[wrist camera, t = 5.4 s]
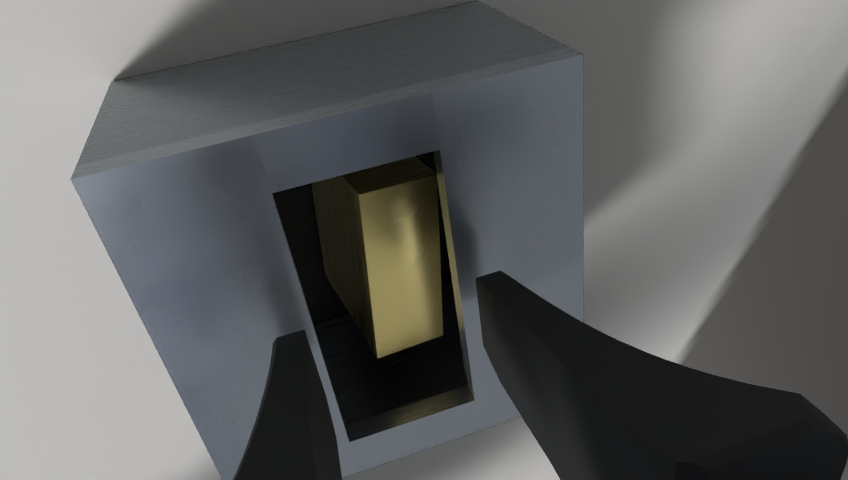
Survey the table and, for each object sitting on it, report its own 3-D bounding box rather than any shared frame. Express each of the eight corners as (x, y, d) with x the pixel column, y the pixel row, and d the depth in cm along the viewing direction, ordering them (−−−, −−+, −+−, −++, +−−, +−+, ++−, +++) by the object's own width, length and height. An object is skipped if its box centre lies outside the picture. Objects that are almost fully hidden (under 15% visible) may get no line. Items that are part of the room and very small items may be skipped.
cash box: (231, 363, 22) (239, 513, 17) (111, 81, 16) (70, 179, 11) (502, 281, 23) (583, 394, 18) (478, 0, 18) (583, 54, 13)
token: (325, 274, 21) (377, 358, 17) (302, 130, 18) (358, 194, 14) (382, 258, 21) (443, 335, 18) (368, 116, 19) (436, 174, 15)
